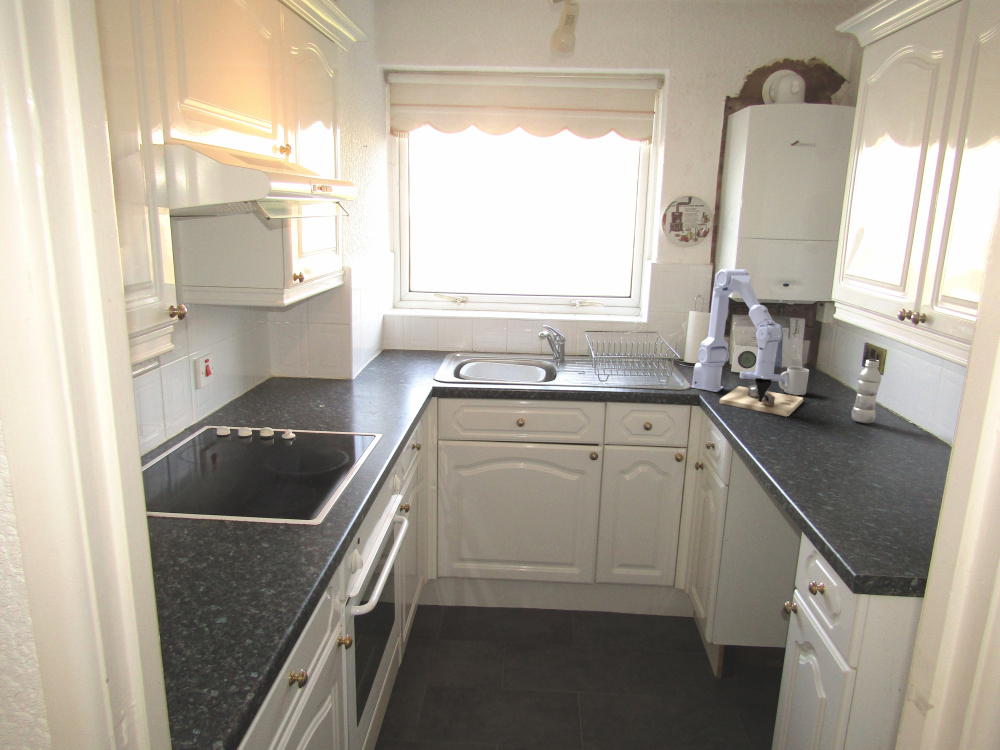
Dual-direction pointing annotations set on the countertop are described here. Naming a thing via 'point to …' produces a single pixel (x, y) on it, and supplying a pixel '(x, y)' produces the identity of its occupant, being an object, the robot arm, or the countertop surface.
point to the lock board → (781, 404)
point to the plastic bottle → (867, 392)
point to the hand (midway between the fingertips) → (760, 401)
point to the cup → (795, 380)
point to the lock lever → (767, 398)
